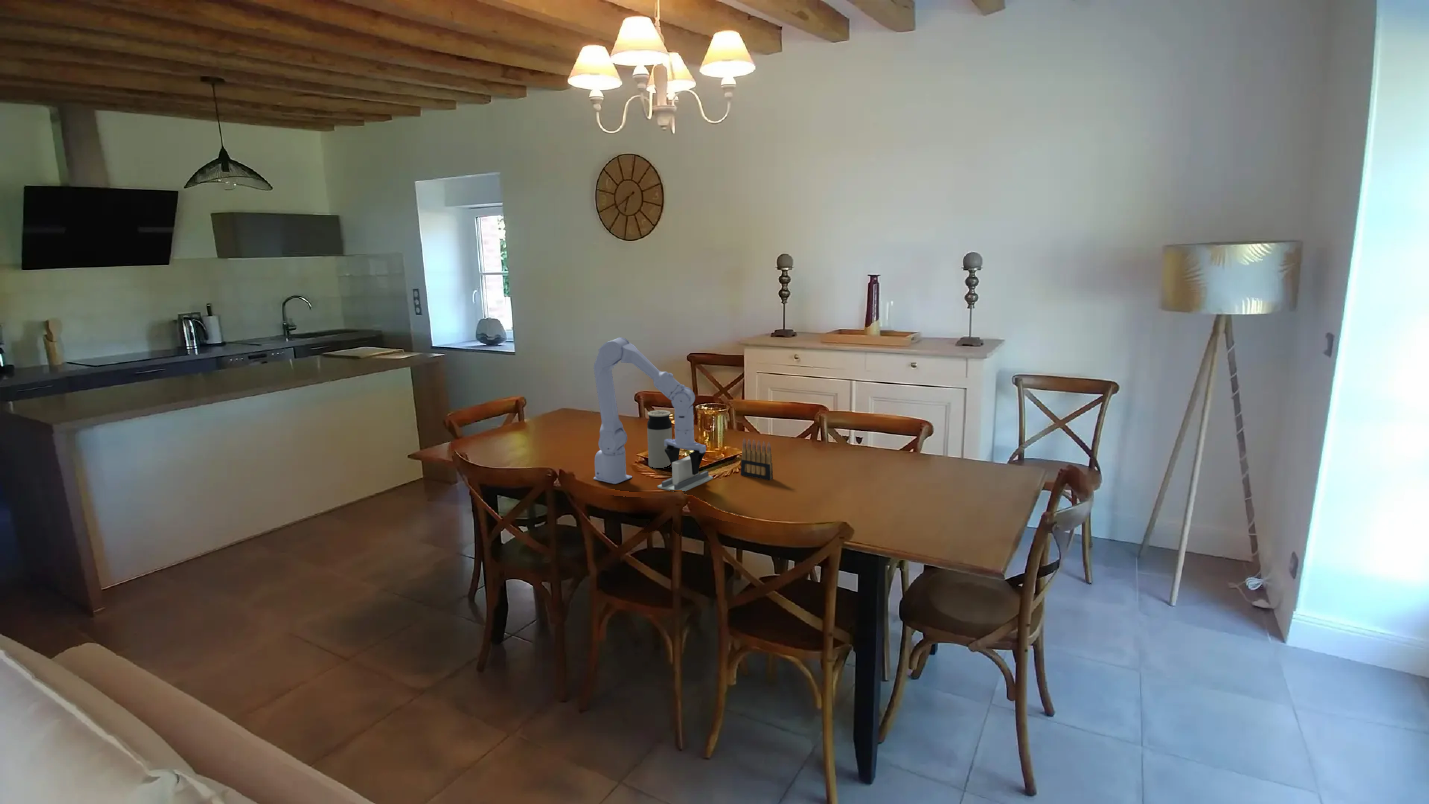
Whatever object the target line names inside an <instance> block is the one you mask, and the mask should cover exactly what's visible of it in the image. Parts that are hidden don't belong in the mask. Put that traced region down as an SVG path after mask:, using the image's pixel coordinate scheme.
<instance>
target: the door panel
mask: <svg viewBox="0 0 1429 804" xmlns="http://www.w3.org/2000/svg"><path fill="white" fill-rule="evenodd" d="M671 468H672V469H671V473H672V474H671V475H672V476H671V478H672V482H673V485H675V484H677V483H679V482H682V481H684V480H686V479H688V478H691V477H693V476H695V475H698V474H700V471H699V472H698V474H695V475H693V474H692V464H691V459H690V456H689V455H688V456H685V457H683V458H679V460H677V461H675V462H672V466H671Z"/></svg>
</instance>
